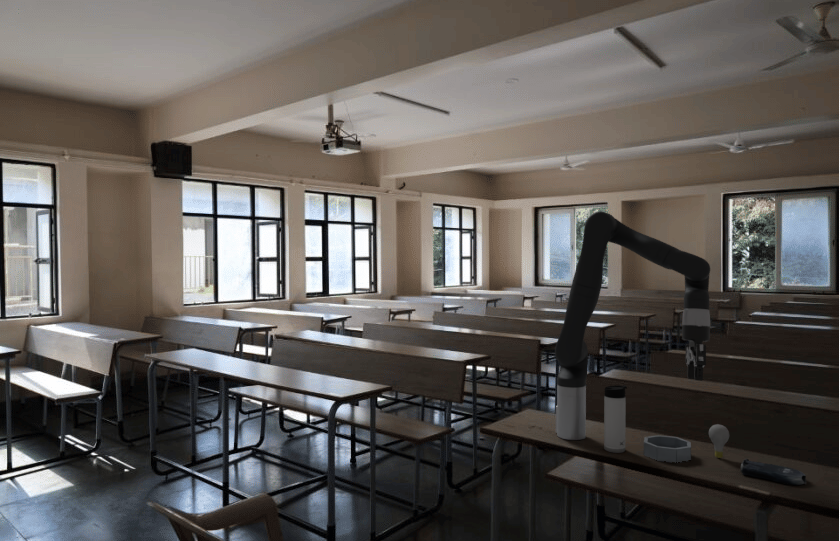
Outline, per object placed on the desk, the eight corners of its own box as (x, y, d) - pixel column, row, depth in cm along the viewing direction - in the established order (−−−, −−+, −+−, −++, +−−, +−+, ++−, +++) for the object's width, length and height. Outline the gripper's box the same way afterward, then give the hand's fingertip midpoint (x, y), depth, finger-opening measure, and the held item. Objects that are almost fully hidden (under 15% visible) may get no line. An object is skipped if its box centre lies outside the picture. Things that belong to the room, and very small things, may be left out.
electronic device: (740, 482, 165) (804, 487, 155) (737, 461, 166) (801, 465, 156) (747, 477, 172) (809, 482, 163) (745, 457, 173) (806, 460, 164)
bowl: (634, 451, 186) (634, 438, 186) (667, 446, 191) (667, 433, 191) (666, 464, 174) (666, 450, 174) (700, 459, 179) (700, 445, 179)
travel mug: (627, 453, 184) (628, 388, 184) (605, 452, 185) (605, 387, 185) (625, 447, 190) (625, 383, 190) (603, 446, 191) (603, 383, 191)
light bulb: (710, 454, 183) (710, 421, 183) (730, 457, 180) (730, 424, 180) (706, 459, 179) (707, 425, 179) (727, 462, 176) (727, 428, 176)
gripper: (677, 324, 189) (676, 377, 187) (688, 323, 175) (687, 379, 173) (703, 326, 187) (702, 379, 185) (716, 324, 173) (715, 382, 172)
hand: (694, 379), depth 179 cm, fingers open, 8 cm apart
